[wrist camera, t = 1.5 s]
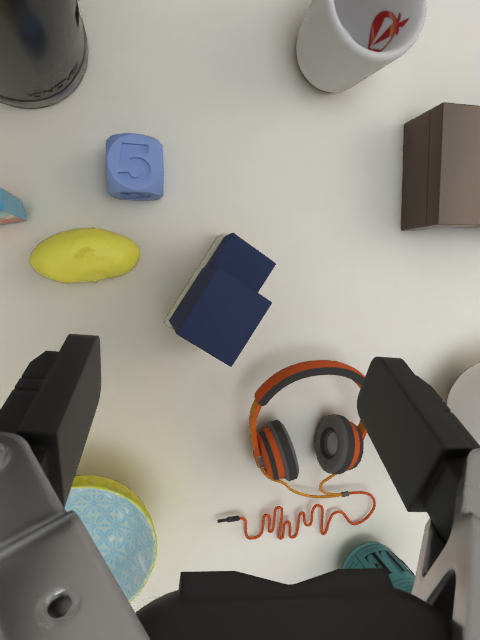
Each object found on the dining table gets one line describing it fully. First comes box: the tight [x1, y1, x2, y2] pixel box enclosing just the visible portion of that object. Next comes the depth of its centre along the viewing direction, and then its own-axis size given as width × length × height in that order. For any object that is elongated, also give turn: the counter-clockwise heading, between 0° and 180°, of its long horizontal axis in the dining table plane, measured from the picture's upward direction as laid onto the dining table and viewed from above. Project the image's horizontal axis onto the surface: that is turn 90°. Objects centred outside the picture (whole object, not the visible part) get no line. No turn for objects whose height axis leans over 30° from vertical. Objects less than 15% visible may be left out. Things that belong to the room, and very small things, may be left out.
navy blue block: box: [164, 233, 276, 367], centre depth 30 cm, size 9×5×9 cm, turn 146°
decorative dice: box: [106, 133, 164, 201], centre depth 30 cm, size 4×4×4 cm
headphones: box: [218, 360, 376, 540], centre depth 36 cm, size 17×5×20 cm
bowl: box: [65, 475, 157, 603], centre depth 31 cm, size 11×12×6 cm
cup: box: [296, 0, 427, 92], centre depth 31 cm, size 11×8×8 cm
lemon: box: [29, 228, 140, 283], centre depth 30 cm, size 4×8×4 cm, turn 91°
